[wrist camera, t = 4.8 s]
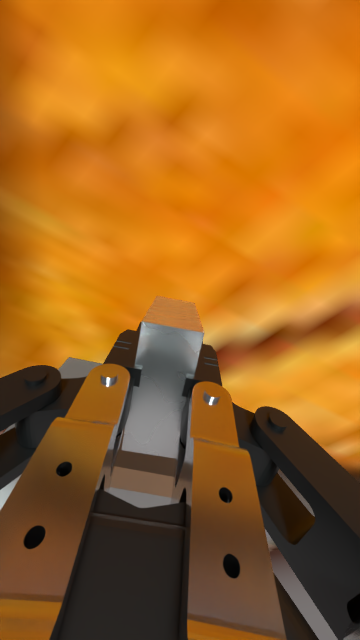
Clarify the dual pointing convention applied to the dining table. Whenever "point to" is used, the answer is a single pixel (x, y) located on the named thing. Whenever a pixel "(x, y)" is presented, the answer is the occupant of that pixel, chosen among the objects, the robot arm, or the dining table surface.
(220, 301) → the dining table surface
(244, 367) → the dining table surface
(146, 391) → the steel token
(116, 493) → the box
